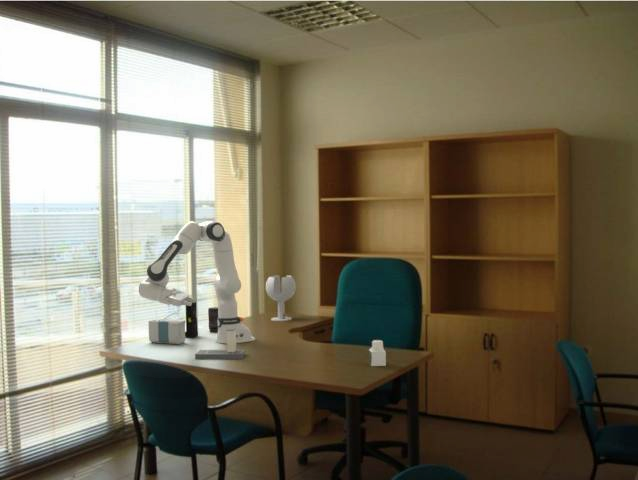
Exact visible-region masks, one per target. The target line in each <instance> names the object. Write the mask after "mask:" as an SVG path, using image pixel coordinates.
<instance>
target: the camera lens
mask: <svg viewBox="0 0 638 480" xmlns="http://www.w3.org/2000/svg"><path fill="white" fill-rule="evenodd" d="M207 313H208V316H207V317H208V329H209V332H210V333H218V324H217V320H218V306H217V307H216V306H215V307H208V312H207Z"/></svg>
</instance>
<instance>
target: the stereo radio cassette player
mask: <svg viewBox="0 0 638 480" xmlns="http://www.w3.org/2000/svg"><path fill="white" fill-rule="evenodd" d="M180 311H181V309H179V310H177V311H175V312H173V313H171V314H169V315H168V316H166V317H164V318H155V319H150V320H148V340H149V342H151V343H152V342H153V344H154V343H158V344H170V345H171V344H172V345H180V344H185V342H186V337H185V332H186V319H183V320H182V319H167V318H169V317H171V316H173V315H175V314H176V313H178V312H180Z"/></svg>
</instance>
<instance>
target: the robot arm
mask: <svg viewBox="0 0 638 480" xmlns="http://www.w3.org/2000/svg"><path fill="white" fill-rule="evenodd" d="M198 241H199V242H200V241H201V242H202V241H203V242H211V244H212V248H213V249H212V250H213V258H214V265H215V268H216V270H217V273H218V274H217V275H216V276H215V277H214V279H213V286H214V289H215V295H216V300H217V307H218V320H217V324H218V332H217V336H216V340H215V342H216V343H220V344H227V329H228V328H236V344H242V343H246V342H254V341H256V338H255V337H254V336H252V333H251V329H250V328H249V327H247V326H246V325H245V324H243V323H242V322H244V318H243V317H242V316H241V317H240V316H238V301H237V299H236V295H235V294H237V293H239V291H240V290H241V288H242V281H241V280H240V277H239V274H238V270H237V267H236V263H235V258H234V249H233V243H232V239H231V236H230V234H229V233H228V232H227V231H225V228H224V226H223V225H222V224H221V223H220V222H218V221H212V220H211V221H209V220H208V221H203V222H198V223H197V222H196V221H189V222H187V223H186V224H184V225H183V227H182V228H181V229H180V230H179V232H178V233H177V234H176V236H175V237H174V239H173V240H172V242H171V243H169V245H168V247H166V248H165V250H164V251H163V252H162V254H161V255H160V256H159V257H158V258H157V259H156V260H154V261H152V262H151V263H149V264H148V266H147V269H146V274H147V277H146V279H144V280H143V281H140V283H139V285H138V286H139V287H138V293H139V296H140V297H141V298H143V299H146V300H149V301H153V302H155V301H156V302H158V303H160V304H164V305H168V306H169V305H172V306H175V307H181V306H185V305H188V306H191V305H192V303H195V302H196V303H197V299H196V298H193V297H192V296H191V294H189V293H187V292H184V291H181V290H178V289H177V288H175V287H174V288H172V287H167V285H168V283H169V279H170V276H169V273H168V267H169V266H170V264H171V263H172V262H173V260H174V259H175V258H176V257H177V256H178V255H187V254H188V253H189V252H191V251H192V249H193V248H194V247H195V245H196V244H197V242H198ZM187 301H190V302H187Z"/></svg>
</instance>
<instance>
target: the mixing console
mask: <svg viewBox="0 0 638 480" xmlns="http://www.w3.org/2000/svg"><path fill="white" fill-rule="evenodd" d="M245 355H246V349H236V351H235V352H227V349H200V350H198V351H197V352H196V353H195V354H194V359H195V360H242V359H243V358H244V357H245Z"/></svg>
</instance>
